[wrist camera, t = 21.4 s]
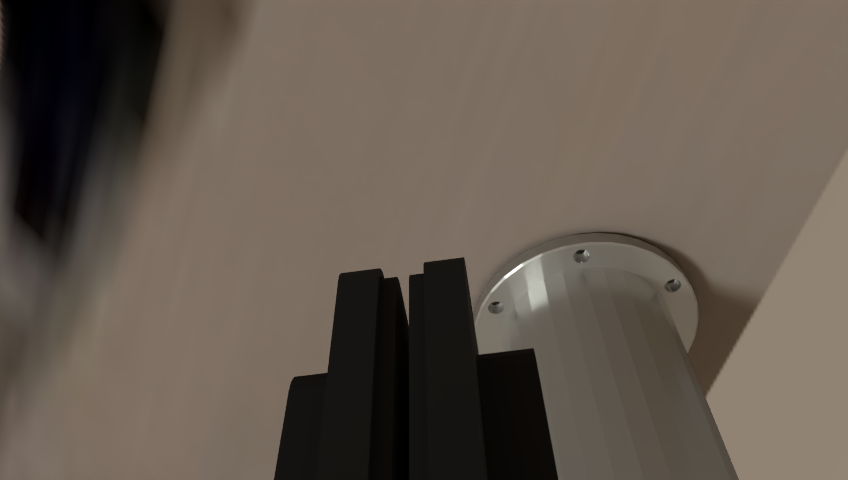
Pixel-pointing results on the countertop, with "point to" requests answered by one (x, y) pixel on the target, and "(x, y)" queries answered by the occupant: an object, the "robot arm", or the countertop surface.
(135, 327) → the countertop surface
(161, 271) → the countertop surface
